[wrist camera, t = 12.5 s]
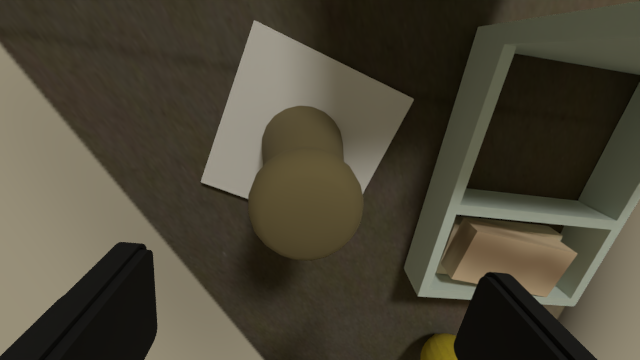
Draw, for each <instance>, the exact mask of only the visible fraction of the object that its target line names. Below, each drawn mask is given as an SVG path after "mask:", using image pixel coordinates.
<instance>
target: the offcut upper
mask: <svg viewBox="0 0 640 360" xmlns="http://www.w3.org/2000/svg"><path fill="white" fill-rule="evenodd" d="M576 256H577V253H576V252H575V251H573V250H572V249H570V248H569V247H568V246H566V245H565V244H563V243H562V242H560V241H559V240H557V239H553V238H549V237H545V236H540V235H536V234H532V233H527V232H523V231H519V230H514V229H510V228H506V227H501V226H497V225H493V224H489V223H484V222H480V221H476V220H471V219H467V218H463V220H462V222H461V224H460V226H459V228H458V230H457V232H456V234H455V236H454V238H453V240H452V242H451V244H450V245H449V247H448V249H447V251H446V253H445V255H444V257H443V259H442V261H441V265H442V266H443V268H444V269H445V270H446V272H447V273H448V275H449V276H450V278H451V279H454V280H460V281H465V282H470V283H475V284H478V281H479V279H480V278H481V277H484V275H485V274H486V273H487V272H497V273H507V274H510V275H512V276H513V277H514V278H515V279H516V280H517V281H518V282H519V283H520V284H521V285H522V286H523V287H524V288H525V289H526V290H527V291H528V292H529V293H530V294H533V295H538V296H543V297H547V296H548V295H549V293H550V292H551V291H552V289H553V288H554V286H555V285H556V284H557V282H558V281H559V279H560V278H561V277H562V275H563V274H564V272H565V271H566V270H567V268H568V267H569V265H570V264H571V263H572V261H573V260H574V258H575V257H576Z"/></svg>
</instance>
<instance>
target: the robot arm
mask: <svg viewBox="0 0 640 360" xmlns="http://www.w3.org/2000/svg"><path fill="white" fill-rule="evenodd" d="M156 333H157V314H156V297H155V281H154V265H153V253H152V251H151V250H147V249H146V246H145V245H144V244H138V243H126V242H119V243H118V244H116V245H115V246H114V247H113V248H112V249H111V250H110V251H109V252H108V253H107V254H106V255H105V256H104V257H103V258H102V259H101V260H100V261H99V262H98V263H97V264H96V265H95V266H94V267H93V268H92V269H91V270H90V271H89V272H88V273H87V274H85V276H83V278H82V279H80V281H79V282H77V283H76V284H75V285H74V286H73V287H72V288H71V289H70V290H69V291H68V292H67V293H66V294H65V295H64V296H62V297H61V298H60V299H59V300H57V301H56V302H55V303H54V305H52V306H51V307H50V308H49V309H48V310H47V311H46V312H45V313H44V314H43V315H42V316H41V317H40V318H39V319H38V320H37V321H36V322H35V323H34V324H33V325H32V326H31V327H30V328H29V329H28V330H27V331H26V332H25V333H24V334H23V335H22V336H21V337H19V338H18V339H17V340H16V341H15V342H14V343H13V344H12V345H11V346H10V347H9V348H8V349H7V350H6V351H5V352H4V353H3V354H2V355H1V356H0V360H144V359H145V357H146V355H147V353H148V351H149V349H150V348H151V346H152V344H153V342H154V339H155V336H156ZM454 352H455V355H456V357H457V359H458V360H597V359H596V358H595V357H594V356H593V355H592V354H591V353H590V352H589V351H588V350H587V349H586V348H585V347H584V346H583V345H582V344H581V343H580V342H579V341H578V340H577V339H576V338H575V337H574V336H573V335H572V334H571V333H570V332H569V331H568V330H567V329H566V328H564V326H563V325H562V324H560V322H558V320H557V319H556V318H555V317H554V316H553V315H552V314H550V313H549V312H548V311H547V310H546V309H545V308H544V307H543V306H542V305H541V304H540V303H539V302H538V301H537V300H536V299H535V298H534V297H533V296H532V295H531V294H530V293H529V292H528V291H527V290H526V289H525V288H524V287H523V286H522V285H521V284H520V283H519V282H518V281H517V280H516V279H515V278H514V277H513V276H512V275H510V274H507V273H497V272H487V273H486V274H485V275H484V277H481V278H480V279H479V281H478V284H477V286H476V289H475V291H474V294H473V296H472V299H471V301H470V304H469V306H468V309H467V311H466V314H465V316H464V319H463V321H462V324H461V326H460V328H459V331H458V333H457V336H456V338H455V341H454Z"/></svg>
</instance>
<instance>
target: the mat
mask: <svg viewBox="0 0 640 360" xmlns="http://www.w3.org/2000/svg"><path fill="white" fill-rule="evenodd" d="M413 101H414V99H413V98H411V97H409V96H407V95H405V94H403V93H401V92H399V91H397V90H395V89H393V88H391V87H389V86H387V85H385V84H383V83H381V82H379V81H376V80H374V79H372V78H370V77H368V76H366V75H364V74H362V73H360V72H358V71H356V70H354V69H352V68H350V67H348V66H346V65H344V64H342V63H340V62H338V61H336V60H334V59H332V58H330V57H328V56H326V55H324V54H322V53H320V52H318V51H316V50H314V49H312V48H310V47H307V46H305V45H303V44H301V43H299V42H297V41H295V40H293V39H291V38H289V37H287V36H285V35H283V34H281V33H279V32H277V31H275V30H273V29H271V28H269V27H267V26H265V25H263V24H261V23H259V22H257V21H255V20H254V22H253V25H252V28H251V32H250V35H249V38H248V41H247V44H246V47H245V50H244V53H243V56H242V59H241V62H240V65H239V68H238V71H237V74H236V77H235V80H234V83H233V86H232V89H231V92H230V95H229V98H228V101H227V104H226V107H225V110H224V113H223V116H222V119H221V122H220V125H219V128H218V131H217V134H216V137H215V140H214V143H213V146H212V149H211V152H210V156H209V159H208V162H207V165H206V168H205V171H204V174H203V177H202V180H201V183H204V184H207V185H210V186H213V187H216V188H218V189H221V190H224V191H227V192H230V193H232V194H235V195H238V196H241V197H244V198H247V199H248V195H249V192H250V189H251V187H252V184H253V182H254V179H255V176H256V174H257V173H258V172H259V170H260V169H261V168H262V167H263V160H262V136H263V134H264V131H265V128H266V126H267V124H268V123H269V122H270V121H271V120H272V118H273V117H274V116H275V115H277V114H278V113H280V112H281V111H283V110H285V109H287V108H291V107H295V106H310V107H314V108H317V109H319V110H321V111H324V112H325V113H326V114H327V115H329V116H330V117H331V118H332V119H333V120H334V121H335V123H336V124H337V126H338V128H339V130H340V131H341V136H342V141H343V154H344V162H345V163H346V164H348V165H349V166H350V168H351V169H352V171H353V173H354V174H355V176H356V178H357V179H358V181H359V183H360V185H361V189H362V194H363V192H364V191H365V189H366V187H367V185H368V183H369V181H370V180H371V178H372V176H373V174H374V172H375V170H376V169H377V167H378V165H379V163H380V161H381V159H382V158H383V156H384V154H385V152H386V150H387V148H388V147H389V145H390V143H391V141H392V139H393V137H394V136H395V134H396V132H397V130H398V128H399V126H400V125H401V123H402V121H403V119H404V117H405V115H406V114H407V112H408V110H409V108H410V106H411V104H412V103H413Z"/></svg>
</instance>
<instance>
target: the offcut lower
mask: <svg viewBox="0 0 640 360" xmlns="http://www.w3.org/2000/svg"><path fill="white" fill-rule="evenodd" d="M463 218H467V219H471V220H476V221H480V222H484V223H489V224H493V225H497V226H501V227H506V228H510V229H514V230H519V231H523V232H527V233H532V234H536V235H540V236H545V237H549V238H553V239H557V240H559V241H561V239H562V237H563V236H562V235H561V234H560V233H558V232H557V231H555V230H554V229H552V228H551V227H549V226H545V225H536V224H527V223H518V222H509V221H500V220H491V219H482V218H472V217H463V216H456V217H455V220H454V223H453V225H452V228H451V231H450V234H449V237H448V239H447V242H446V245H445V248H444V250H443V253H442V256H441V259H440V262H439V264H438V267H437V270H436V273H439V274H448V273H447V272H446V270H445V269H444V268H443V266H442V265H441V261H442V259H443V257H444V255H445V253H446V251H447V249H448V247H449V245H450V244H451V242H452V240H453V238H454V236H455V234H456V232H457V230H458V228H459V226H460V224H461V222H462V220H463Z"/></svg>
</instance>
